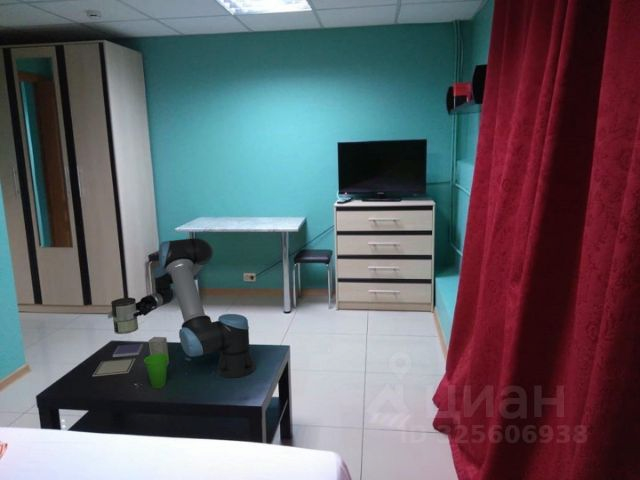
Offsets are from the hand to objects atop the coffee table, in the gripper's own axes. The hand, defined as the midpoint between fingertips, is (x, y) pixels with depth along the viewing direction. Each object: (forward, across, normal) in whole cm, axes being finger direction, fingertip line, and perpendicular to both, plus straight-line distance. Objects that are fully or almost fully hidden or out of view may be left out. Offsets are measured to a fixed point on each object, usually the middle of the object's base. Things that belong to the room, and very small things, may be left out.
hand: (117, 316), depth 206 cm
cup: (+19, -35, -19) cm, 44 cm away
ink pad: (-4, 0, -18) cm, 19 cm away
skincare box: (+5, -25, -19) cm, 31 cm away
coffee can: (-4, 0, -8) cm, 9 cm away
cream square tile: (+11, -7, -18) cm, 23 cm away
